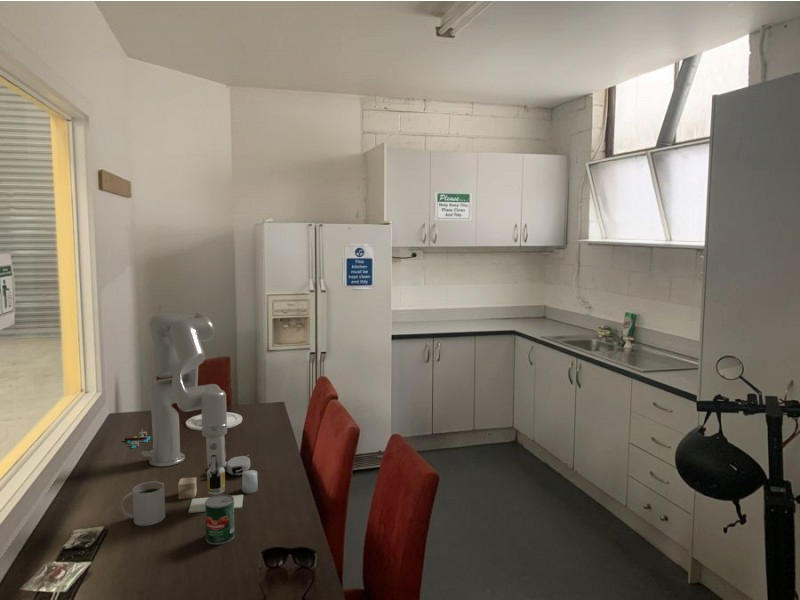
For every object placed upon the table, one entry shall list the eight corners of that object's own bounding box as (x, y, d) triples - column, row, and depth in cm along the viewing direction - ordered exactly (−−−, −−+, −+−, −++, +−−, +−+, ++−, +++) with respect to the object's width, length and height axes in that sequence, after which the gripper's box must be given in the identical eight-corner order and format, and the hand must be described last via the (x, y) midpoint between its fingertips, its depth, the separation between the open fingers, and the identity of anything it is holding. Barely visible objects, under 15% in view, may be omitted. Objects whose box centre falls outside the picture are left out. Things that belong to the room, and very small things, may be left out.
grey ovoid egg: (242, 493, 197) (241, 476, 196) (242, 487, 202) (242, 470, 201) (257, 492, 198) (257, 475, 197) (257, 486, 203) (257, 469, 202)
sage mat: (188, 512, 183) (188, 511, 183) (192, 500, 192) (192, 498, 192) (241, 508, 186) (241, 506, 186) (243, 496, 195) (243, 494, 195)
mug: (171, 514, 182) (170, 483, 181) (149, 529, 173) (147, 496, 172) (143, 509, 185) (142, 478, 184) (120, 523, 176) (118, 490, 175)
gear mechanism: (118, 451, 237) (143, 449, 238) (117, 438, 236) (142, 436, 238) (131, 434, 256) (154, 433, 258) (131, 422, 256) (153, 421, 257)
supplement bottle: (213, 496, 185) (212, 466, 184) (204, 491, 188) (203, 462, 187) (228, 490, 189) (227, 461, 188) (219, 486, 192) (218, 457, 191)
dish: (187, 417, 281) (186, 394, 279) (241, 412, 288) (240, 390, 287) (184, 433, 257) (183, 408, 256) (243, 428, 265) (243, 403, 264)
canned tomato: (207, 547, 163) (206, 508, 162) (204, 533, 170) (203, 497, 169) (236, 541, 166) (235, 503, 165) (232, 528, 173) (231, 492, 172)
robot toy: (206, 483, 207) (250, 477, 210) (204, 471, 207) (248, 465, 209) (210, 470, 219) (251, 464, 222) (209, 458, 219) (250, 452, 221)
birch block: (178, 499, 193) (178, 484, 192) (181, 492, 198) (180, 478, 197) (194, 497, 194) (194, 483, 193) (196, 491, 199) (196, 477, 198)
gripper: (224, 437, 179) (226, 494, 181) (229, 420, 195) (230, 472, 197) (198, 438, 177) (200, 496, 179) (205, 421, 194) (206, 474, 196)
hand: (216, 483), depth 188 cm, fingers closed on supplement bottle, 5 cm apart
